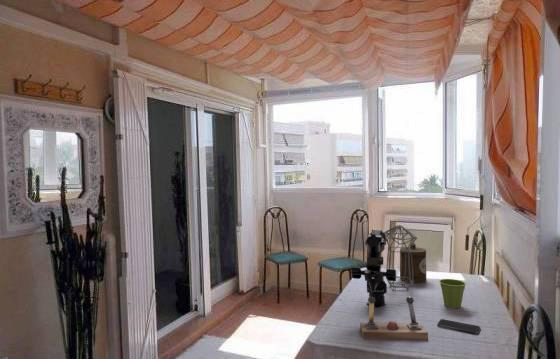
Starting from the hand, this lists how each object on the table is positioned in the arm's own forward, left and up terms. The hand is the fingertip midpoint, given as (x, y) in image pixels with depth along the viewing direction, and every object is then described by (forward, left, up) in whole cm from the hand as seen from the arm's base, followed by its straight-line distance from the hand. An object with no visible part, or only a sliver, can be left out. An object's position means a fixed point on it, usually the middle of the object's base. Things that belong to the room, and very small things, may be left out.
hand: (372, 291), depth 156 cm
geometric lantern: (-19, +51, -14) cm, 56 cm away
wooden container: (-24, +73, -14) cm, 78 cm away
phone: (+25, +23, -14) cm, 37 cm away
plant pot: (+12, +46, -14) cm, 49 cm away
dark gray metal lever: (+5, -8, -10) cm, 14 cm away
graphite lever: (+16, +4, -10) cm, 19 cm away
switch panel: (+11, -2, -14) cm, 18 cm away
